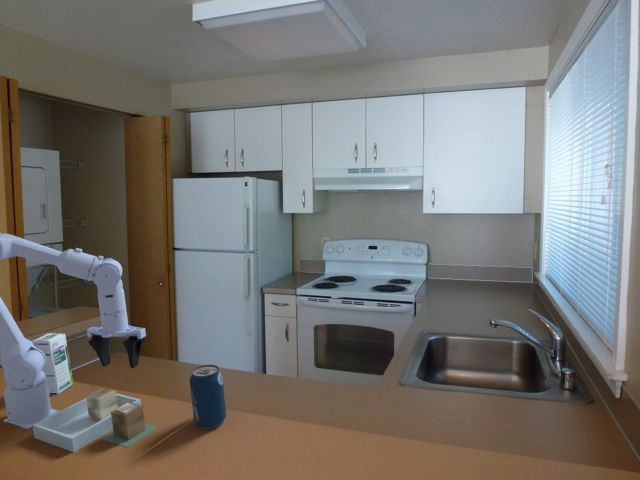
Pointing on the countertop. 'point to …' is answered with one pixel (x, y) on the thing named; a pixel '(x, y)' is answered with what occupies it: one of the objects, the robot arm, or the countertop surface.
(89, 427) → the bin
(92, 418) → the birch block
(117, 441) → the mat
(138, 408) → the brown wooden block
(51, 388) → the syrup box
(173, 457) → the countertop surface
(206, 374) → the soda can
